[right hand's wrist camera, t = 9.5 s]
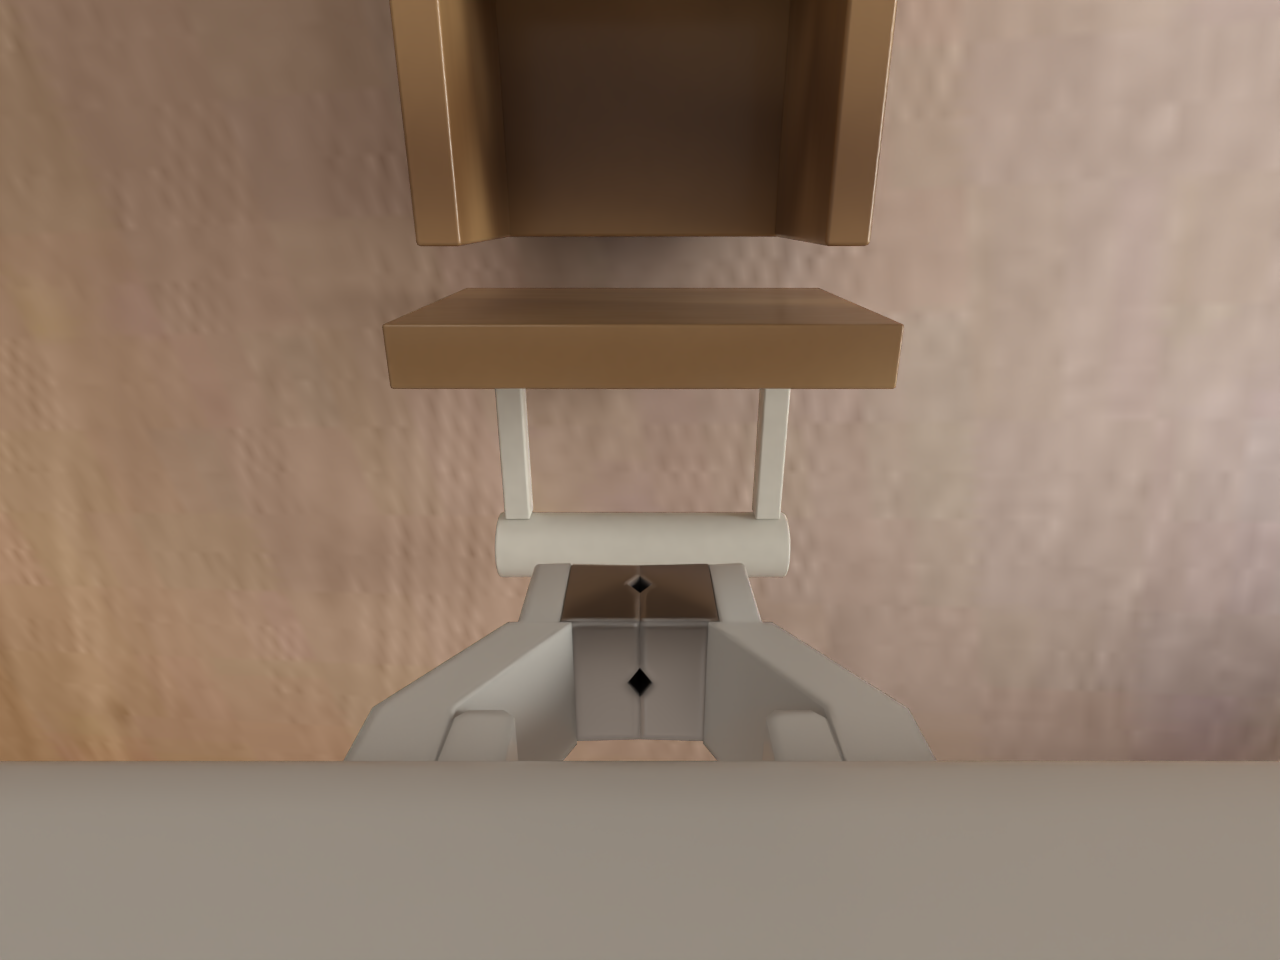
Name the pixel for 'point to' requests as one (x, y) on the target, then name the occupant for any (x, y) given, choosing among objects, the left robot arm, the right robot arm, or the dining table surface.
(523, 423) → the drawer
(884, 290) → the dining table surface
